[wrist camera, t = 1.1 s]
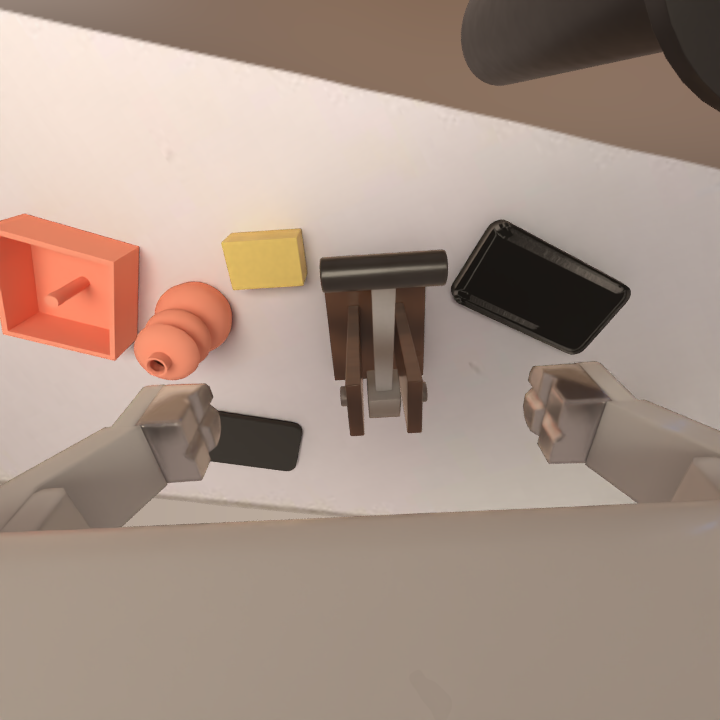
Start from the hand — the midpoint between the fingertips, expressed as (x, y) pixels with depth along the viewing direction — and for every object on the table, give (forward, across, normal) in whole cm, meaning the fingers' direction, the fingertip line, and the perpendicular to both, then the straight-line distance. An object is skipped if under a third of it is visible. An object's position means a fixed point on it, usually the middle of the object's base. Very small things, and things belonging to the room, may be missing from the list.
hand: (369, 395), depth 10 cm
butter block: (+26, +8, +4) cm, 28 cm away
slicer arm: (+13, -1, +5) cm, 14 cm away
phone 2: (+26, -16, +9) cm, 32 cm away
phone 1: (+26, +16, +25) cm, 39 cm away
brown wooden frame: (+26, -1, +11) cm, 28 cm away
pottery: (+26, +21, +7) cm, 34 cm away
